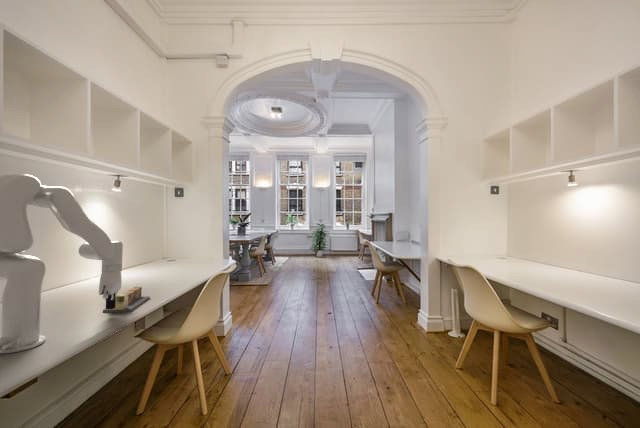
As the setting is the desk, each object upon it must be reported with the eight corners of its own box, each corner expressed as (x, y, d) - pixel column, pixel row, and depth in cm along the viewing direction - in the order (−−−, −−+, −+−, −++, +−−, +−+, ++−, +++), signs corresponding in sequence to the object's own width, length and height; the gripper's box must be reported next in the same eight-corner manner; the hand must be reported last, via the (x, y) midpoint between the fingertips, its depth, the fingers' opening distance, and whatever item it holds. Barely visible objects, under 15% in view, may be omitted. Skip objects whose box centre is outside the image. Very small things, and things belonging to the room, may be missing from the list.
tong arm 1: (124, 304, 142) (124, 294, 142) (120, 304, 142) (120, 294, 142) (137, 296, 157) (137, 286, 157) (134, 296, 157) (134, 287, 157)
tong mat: (130, 311, 136) (130, 309, 136) (102, 312, 134) (102, 310, 134) (149, 298, 158) (149, 296, 158) (125, 299, 156) (125, 296, 156)
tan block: (123, 309, 135) (124, 296, 135) (107, 309, 134) (108, 296, 134) (127, 306, 139) (128, 293, 139) (112, 307, 138) (112, 294, 138)
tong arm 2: (128, 304, 142) (128, 294, 143) (124, 304, 142) (125, 294, 142) (141, 296, 157) (141, 286, 157) (138, 296, 157) (138, 286, 157)
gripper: (111, 265, 136) (110, 303, 136) (92, 271, 122) (91, 314, 121) (128, 265, 138) (127, 303, 138) (112, 271, 123) (110, 313, 123)
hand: (110, 308), depth 130 cm, fingers closed
